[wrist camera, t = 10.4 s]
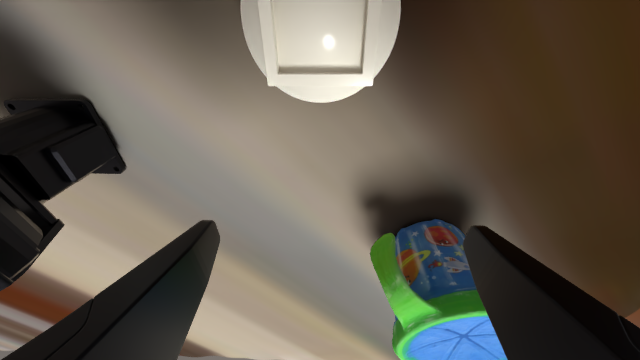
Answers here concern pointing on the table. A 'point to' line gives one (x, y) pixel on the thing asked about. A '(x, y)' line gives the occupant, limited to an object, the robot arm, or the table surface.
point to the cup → (320, 43)
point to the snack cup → (433, 295)
